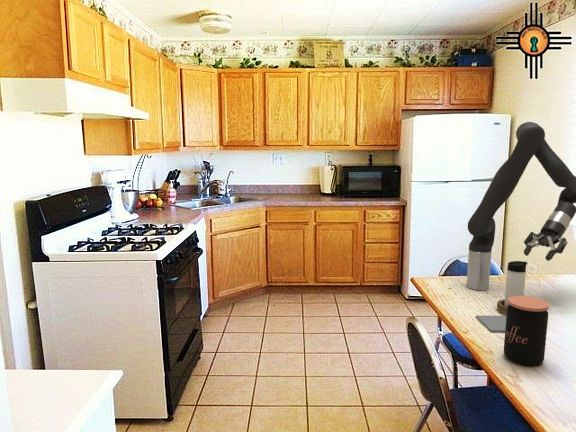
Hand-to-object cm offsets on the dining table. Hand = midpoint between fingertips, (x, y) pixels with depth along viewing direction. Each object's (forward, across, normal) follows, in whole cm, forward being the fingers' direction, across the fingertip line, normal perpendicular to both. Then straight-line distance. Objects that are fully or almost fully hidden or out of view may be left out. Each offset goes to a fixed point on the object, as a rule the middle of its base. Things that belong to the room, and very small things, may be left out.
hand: (536, 256), depth 167 cm
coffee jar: (+45, +24, -16) cm, 53 cm away
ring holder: (+22, 0, +6) cm, 23 cm away
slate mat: (+33, +5, -4) cm, 33 cm away
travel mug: (+22, 0, +7) cm, 23 cm away
